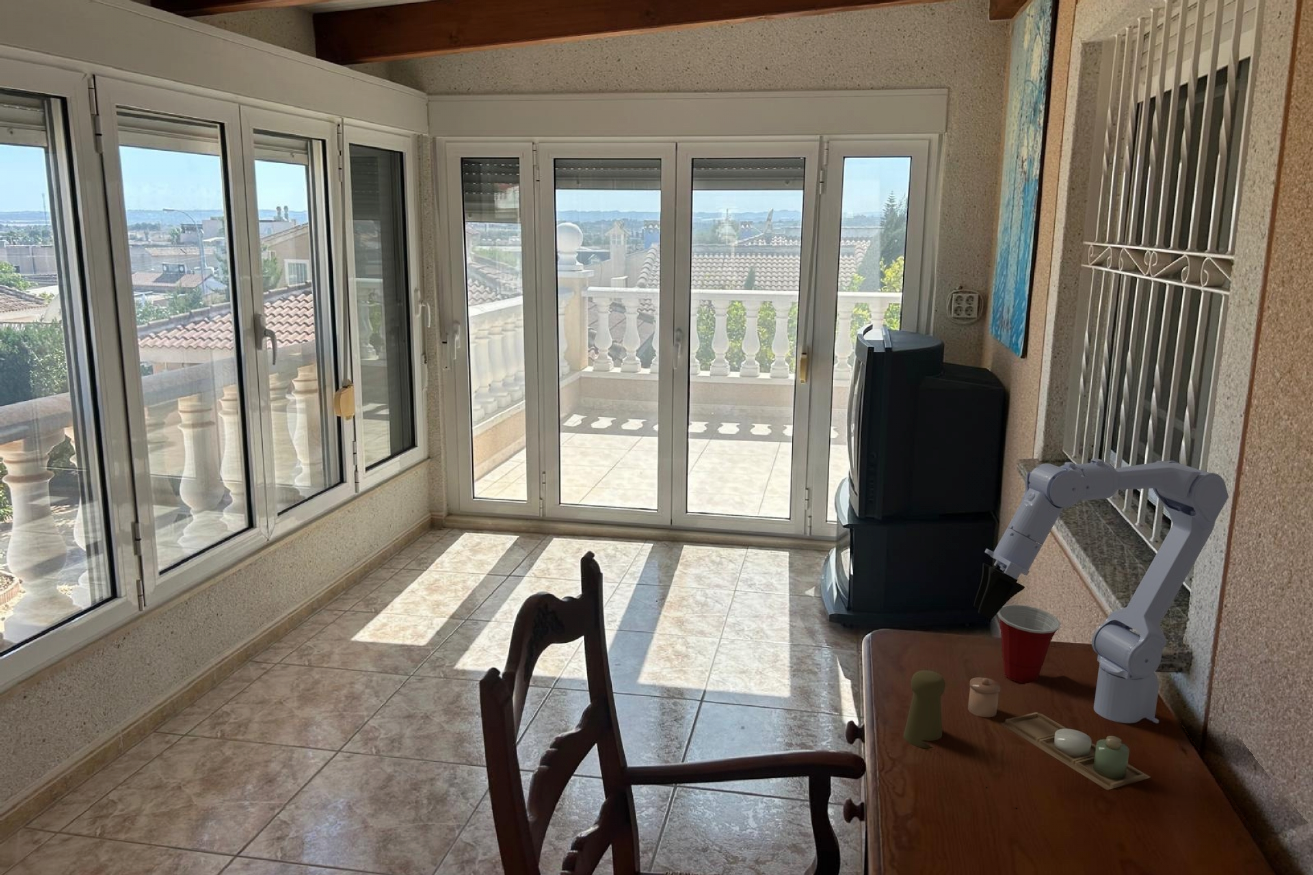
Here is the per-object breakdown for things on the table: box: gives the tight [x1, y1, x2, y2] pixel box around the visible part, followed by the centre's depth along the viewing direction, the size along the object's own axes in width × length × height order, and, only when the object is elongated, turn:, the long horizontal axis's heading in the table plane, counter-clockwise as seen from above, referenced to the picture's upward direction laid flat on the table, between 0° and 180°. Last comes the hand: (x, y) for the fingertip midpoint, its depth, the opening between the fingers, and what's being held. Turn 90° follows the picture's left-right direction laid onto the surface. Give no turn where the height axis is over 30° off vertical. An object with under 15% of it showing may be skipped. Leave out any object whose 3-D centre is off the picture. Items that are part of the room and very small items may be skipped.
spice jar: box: [967, 676, 1001, 718], centre depth 163 cm, size 5×5×7 cm
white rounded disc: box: [1054, 728, 1093, 758], centre depth 152 cm, size 5×5×2 cm
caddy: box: [999, 711, 1152, 791], centre depth 152 cm, size 9×21×2 cm, turn 25°
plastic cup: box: [996, 604, 1062, 684], centre depth 178 cm, size 11×11×12 cm
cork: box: [903, 669, 946, 749], centre depth 155 cm, size 6×6×11 cm
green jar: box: [1093, 735, 1130, 779], centre depth 145 cm, size 4×4×5 cm
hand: (981, 612), depth 153 cm, fingers open, 7 cm apart
